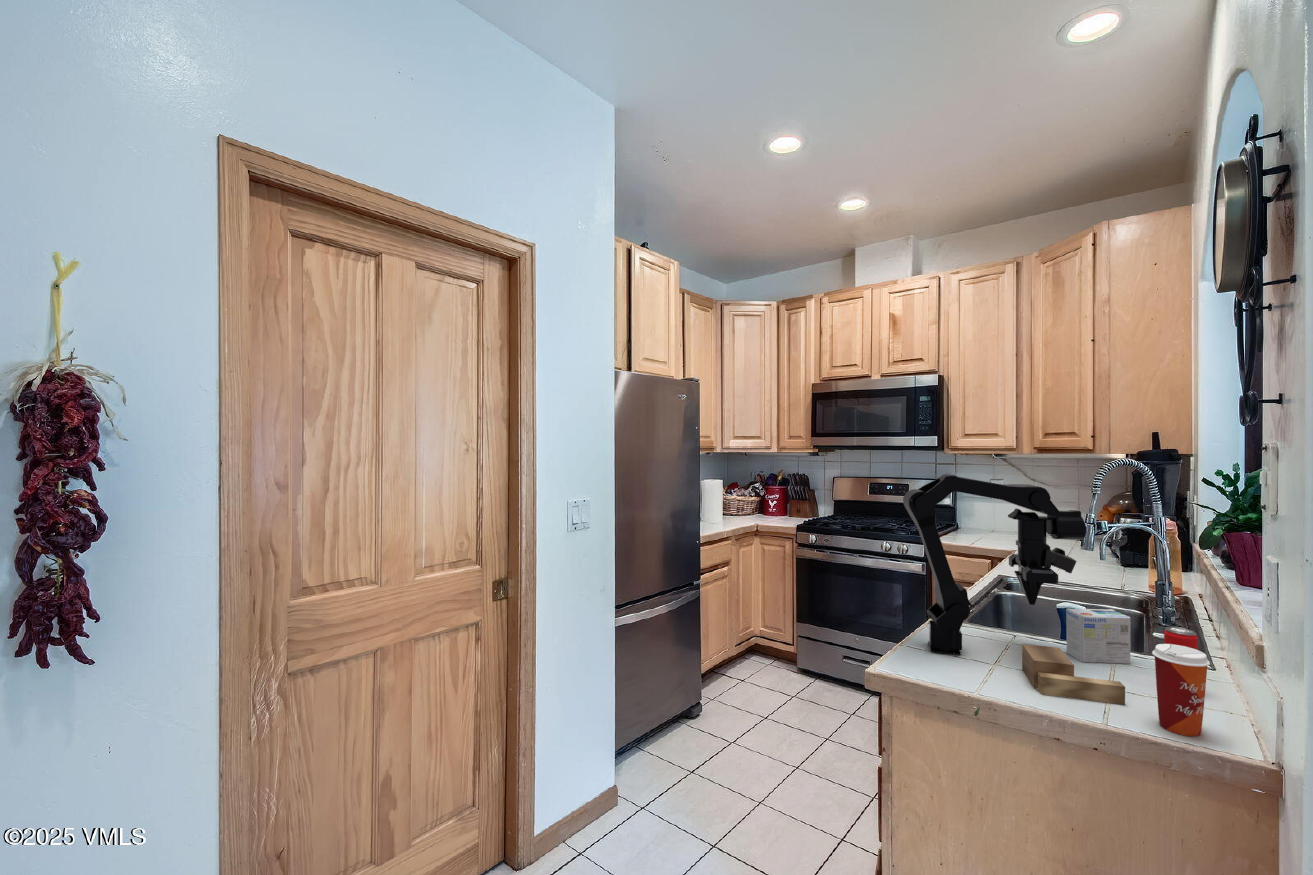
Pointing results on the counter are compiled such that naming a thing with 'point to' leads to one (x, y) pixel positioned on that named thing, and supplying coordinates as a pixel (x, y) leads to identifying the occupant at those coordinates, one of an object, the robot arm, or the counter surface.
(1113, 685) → the oak board
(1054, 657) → the walnut block
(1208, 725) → the counter surface
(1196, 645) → the beverage can
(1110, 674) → the counter surface
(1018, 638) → the counter surface
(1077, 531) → the robot arm
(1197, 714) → the paper cup
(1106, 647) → the light bulb box
